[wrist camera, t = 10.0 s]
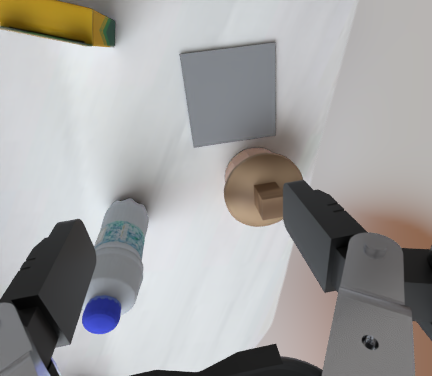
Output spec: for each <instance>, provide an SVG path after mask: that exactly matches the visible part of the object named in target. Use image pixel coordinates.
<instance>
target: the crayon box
mask: <svg viewBox="0 0 432 376" xmlns="http://www.w3.org/2000/svg"><path fill="white" fill-rule="evenodd" d="M0 29H2V30H7V31H12V32H17V33H23V34H27V35H32V36H37V37H42V38H47V39H52V40H57V41H63V42H68V43H73V44H78V45H82V46H101V47H114V45H115V21H114V20H112V19H110V18H108V17H107V16H104V15H102V14H100V13H99V12H97V11H95V10H93V9H91V8H87V7H83V6H79V5H74V4H70V3H66V2H61V1H57V0H0Z"/></svg>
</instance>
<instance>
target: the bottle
mask: <svg viewBox="0 0 432 376" xmlns="http://www.w3.org/2000/svg"><path fill="white" fill-rule="evenodd" d="M147 228H148V214H147V212H146V209H145V207H144V205H143V204H138V203H136V202H135V201H134V200H133V199H130V198H128V199H126V200H124V201H119V200H118V201H115V202H114V203H113V204H112V205H111V206H110V207H109V209H108V210H107V212H106V213H105V216H104V219H103V223H102V227H101V230H100V233H99V235H98V238H97V240H96V243H95V246H94V248H95V251H96V266H95V270H94V273H93V276H92V279H91V282H90V285H89V288H88V291H87V294H86V297H85V301H84V304H83V307H82V310H83V311H84V313H83V316H82V323H83V326H84V327H85V329H86V330H87V331H89V332H91V333H95V334H104V333H108V332H110V331H111V330H113V329H114V328H115V327H116V326H117V324H118V322H119V320H120V315H122V314H125V313H126V312H128V311H129V310H130V309H131V308H132V307H133V305H134V304H135V301H136V298H137V295H138V292H139V289H140V285H141V283H142V280H143V264H142V254H143V247H144V239H145V235H146V232H147Z"/></svg>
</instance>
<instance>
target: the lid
mask: <svg viewBox="0 0 432 376" xmlns="http://www.w3.org/2000/svg"><path fill="white" fill-rule="evenodd" d="M299 180H303V178H302V175H301V172H300V170H299V169H298V168H297V166H296V165H295V164H294V163H293V162H292V161H291V160H289V159H288V158H287V157H285V156H283V155H280V154H276V153H260V154H256V155H253V156H250V157H248V158H246V159H244V160H243V161H241V162H240V163H239V164H238V165H237V166H236V167H235V168H234V169H233V170H232V171H231V173H230V174H229V176H228V178H227V180H226V183H225V187H224V198H225V202H226V205H227V208H228V210H229V212H230V213H231V215H232V216H233V217H234V218H235V219H236V220H238V221H239V222H241V223H243V224H246V225H249V226H256V227H257V226H267V225H271V224H274V223H277V222H279V221H281V220H282V219H283V186H284V184H285V183H288V182H294V181H299Z"/></svg>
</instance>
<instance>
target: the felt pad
mask: <svg viewBox="0 0 432 376" xmlns="http://www.w3.org/2000/svg"><path fill="white" fill-rule="evenodd" d="M180 60H181V66H182V73H183V79H184V86H185V93H186V99H187V106H188V112H189V119H190V125H191V132H192V139H193V145H194V147H201V146H208V145H214V144H221V143H228V142H235V141H241V140H248V139H255V138H261V137H268V136H275V135H276V92H275V43H266V44H258V45H250V46H242V47H234V48H226V49H218V50H210V51H201V52H193V53H185V54H180Z"/></svg>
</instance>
